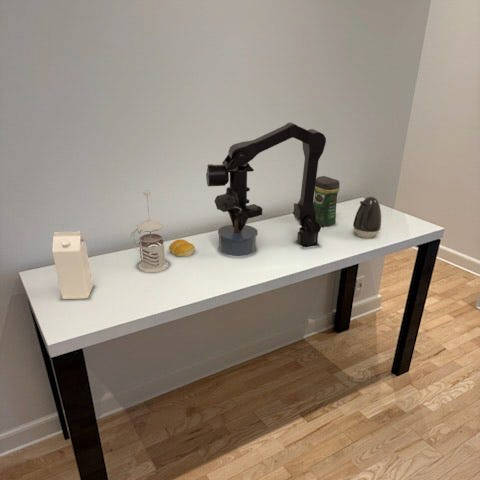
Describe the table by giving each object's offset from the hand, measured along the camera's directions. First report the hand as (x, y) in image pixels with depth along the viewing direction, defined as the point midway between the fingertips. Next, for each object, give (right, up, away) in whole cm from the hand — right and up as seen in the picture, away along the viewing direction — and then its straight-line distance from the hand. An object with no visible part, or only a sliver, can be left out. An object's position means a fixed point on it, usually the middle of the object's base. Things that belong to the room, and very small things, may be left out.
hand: (237, 229), depth 153 cm
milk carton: (-46, -22, -24) cm, 57 cm away
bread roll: (-19, -8, +2) cm, 21 cm away
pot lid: (0, -1, +1) cm, 1 cm away
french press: (-28, -13, -8) cm, 32 cm away
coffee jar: (+35, +6, +28) cm, 45 cm away
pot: (0, -7, +4) cm, 8 cm away
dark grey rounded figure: (+49, 0, +17) cm, 52 cm away
